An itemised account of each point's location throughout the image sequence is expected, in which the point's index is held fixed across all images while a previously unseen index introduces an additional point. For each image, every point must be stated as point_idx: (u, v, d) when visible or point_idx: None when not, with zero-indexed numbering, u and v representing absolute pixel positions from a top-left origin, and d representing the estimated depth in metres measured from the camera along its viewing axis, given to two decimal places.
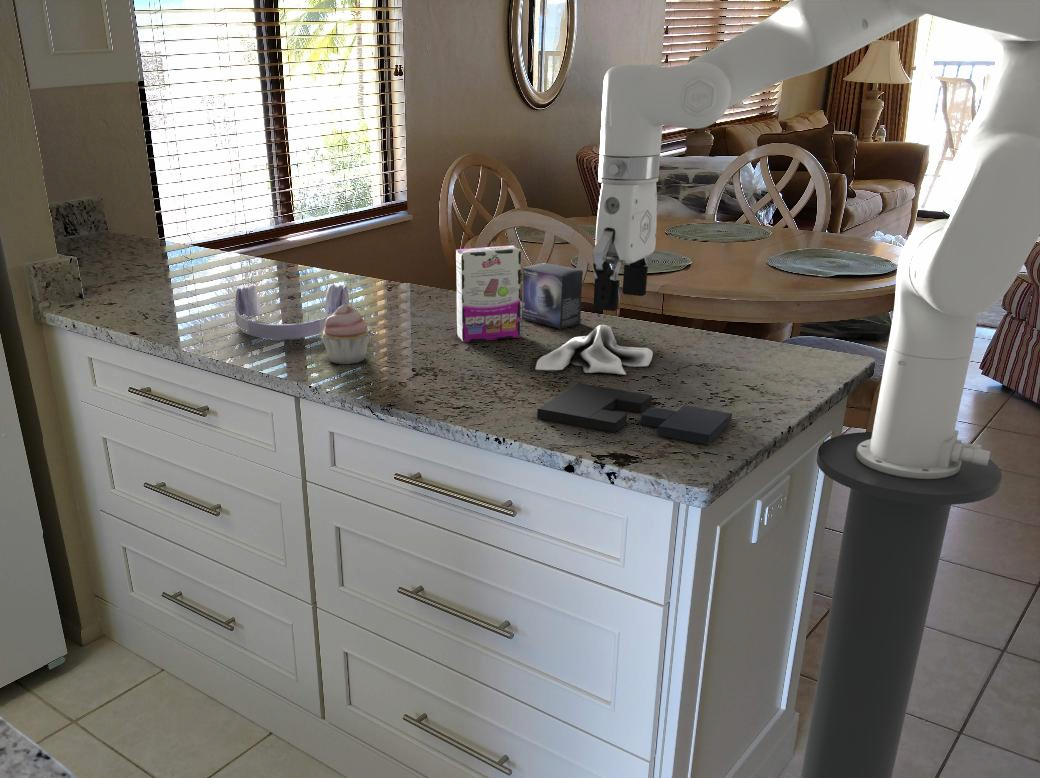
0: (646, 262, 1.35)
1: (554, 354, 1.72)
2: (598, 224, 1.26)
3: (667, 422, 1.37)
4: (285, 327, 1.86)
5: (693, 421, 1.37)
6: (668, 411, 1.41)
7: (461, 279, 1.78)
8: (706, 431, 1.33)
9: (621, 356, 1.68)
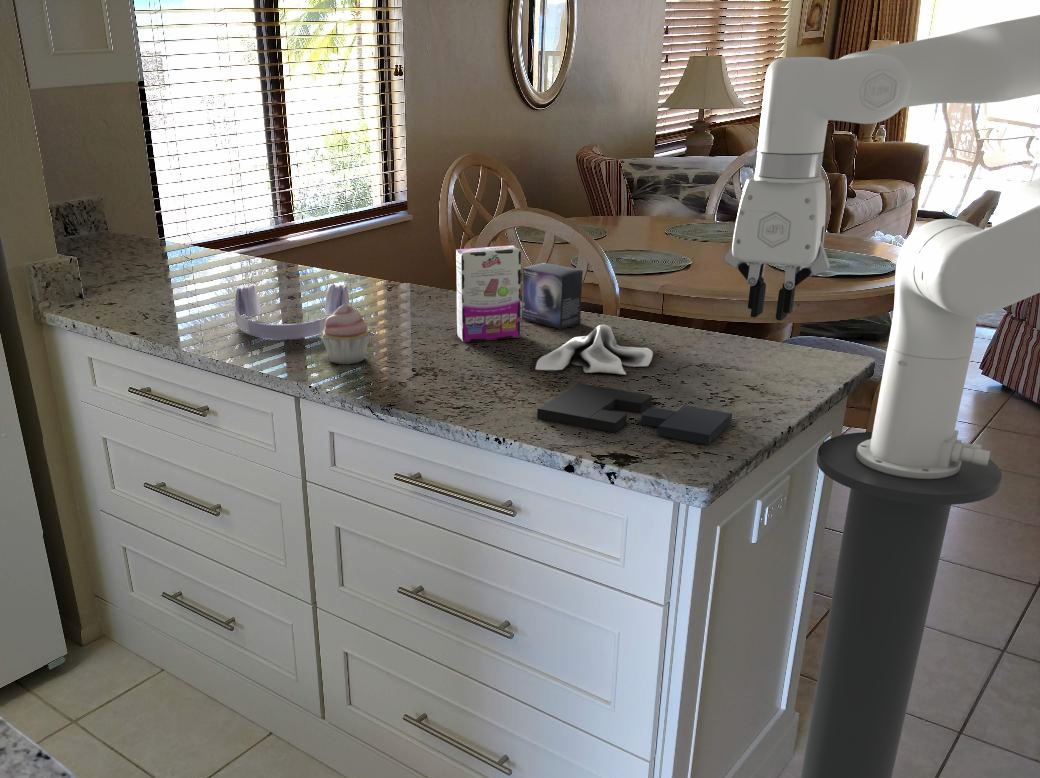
0: (787, 284, 1.24)
1: (554, 354, 1.72)
2: None
3: (667, 422, 1.37)
4: (285, 327, 1.86)
5: (693, 421, 1.37)
6: (668, 411, 1.41)
7: (461, 279, 1.78)
8: (706, 431, 1.33)
9: (621, 356, 1.68)
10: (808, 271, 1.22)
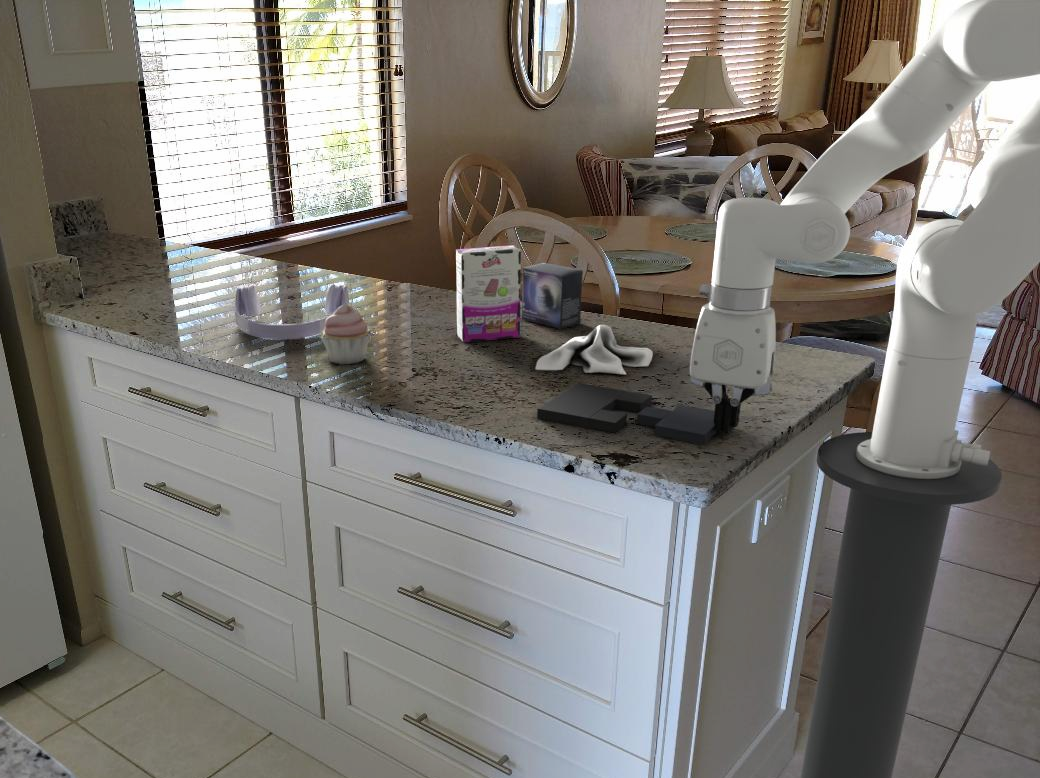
0: (732, 401, 1.32)
1: (554, 354, 1.72)
2: None
3: (663, 421, 1.37)
4: (285, 327, 1.86)
5: (689, 421, 1.37)
6: (664, 410, 1.41)
7: (461, 279, 1.78)
8: (702, 431, 1.34)
9: (621, 356, 1.68)
10: (752, 391, 1.31)
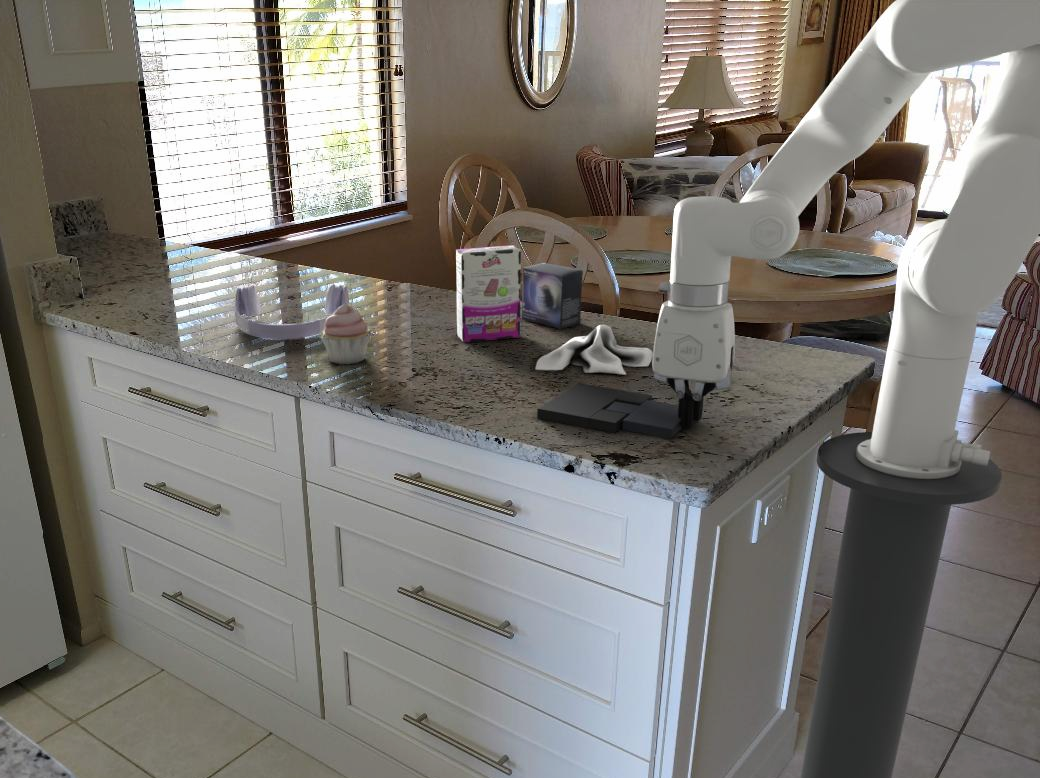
0: (695, 395, 1.35)
1: (554, 354, 1.72)
2: None
3: (631, 416, 1.39)
4: (285, 327, 1.86)
5: (656, 416, 1.40)
6: (631, 406, 1.43)
7: (461, 279, 1.78)
8: (669, 425, 1.36)
9: (621, 356, 1.68)
10: (713, 385, 1.34)
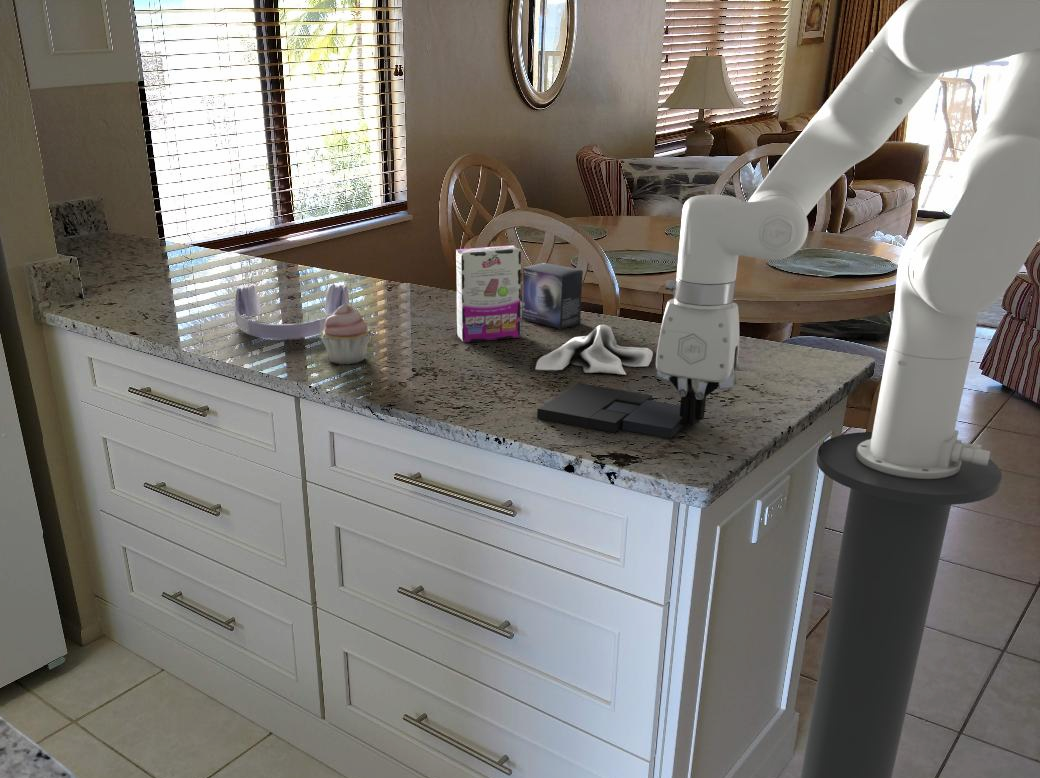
0: (697, 394, 1.35)
1: (554, 354, 1.72)
2: None
3: (630, 416, 1.39)
4: (285, 327, 1.86)
5: (656, 415, 1.40)
6: (631, 406, 1.43)
7: (461, 279, 1.78)
8: (668, 425, 1.36)
9: (621, 356, 1.68)
10: (716, 385, 1.34)
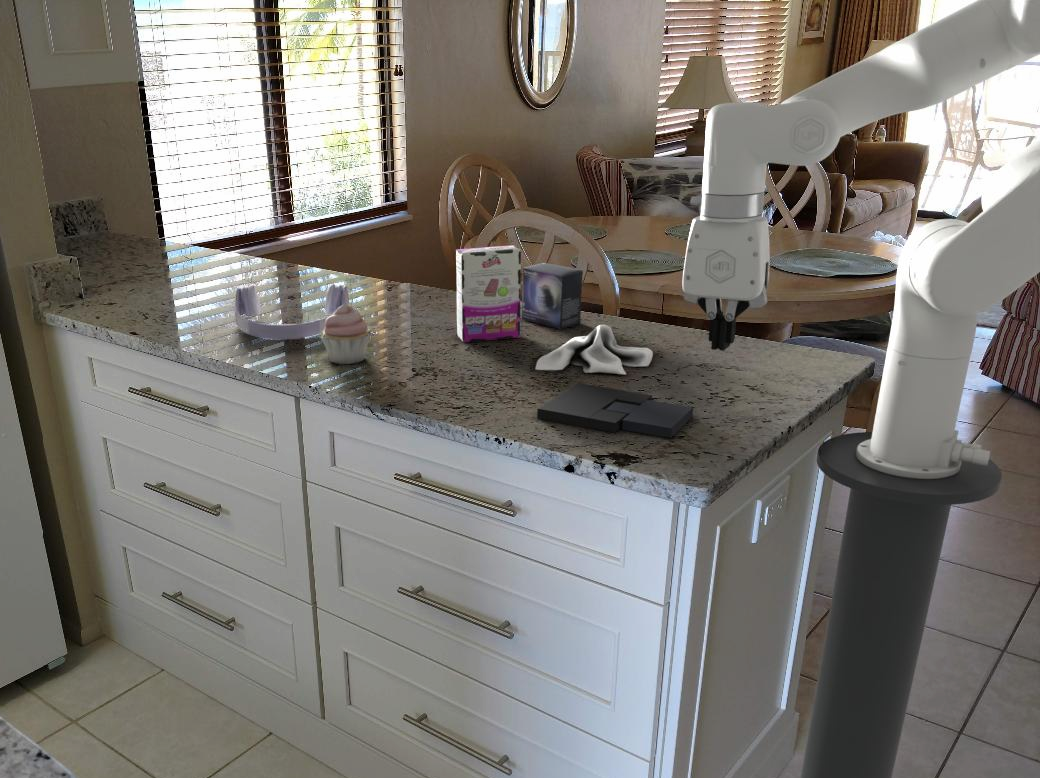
0: (727, 315, 1.29)
1: (554, 354, 1.72)
2: None
3: (630, 416, 1.39)
4: (285, 327, 1.86)
5: (656, 415, 1.39)
6: (631, 406, 1.43)
7: (461, 279, 1.78)
8: (668, 424, 1.36)
9: (621, 356, 1.68)
10: (746, 304, 1.28)
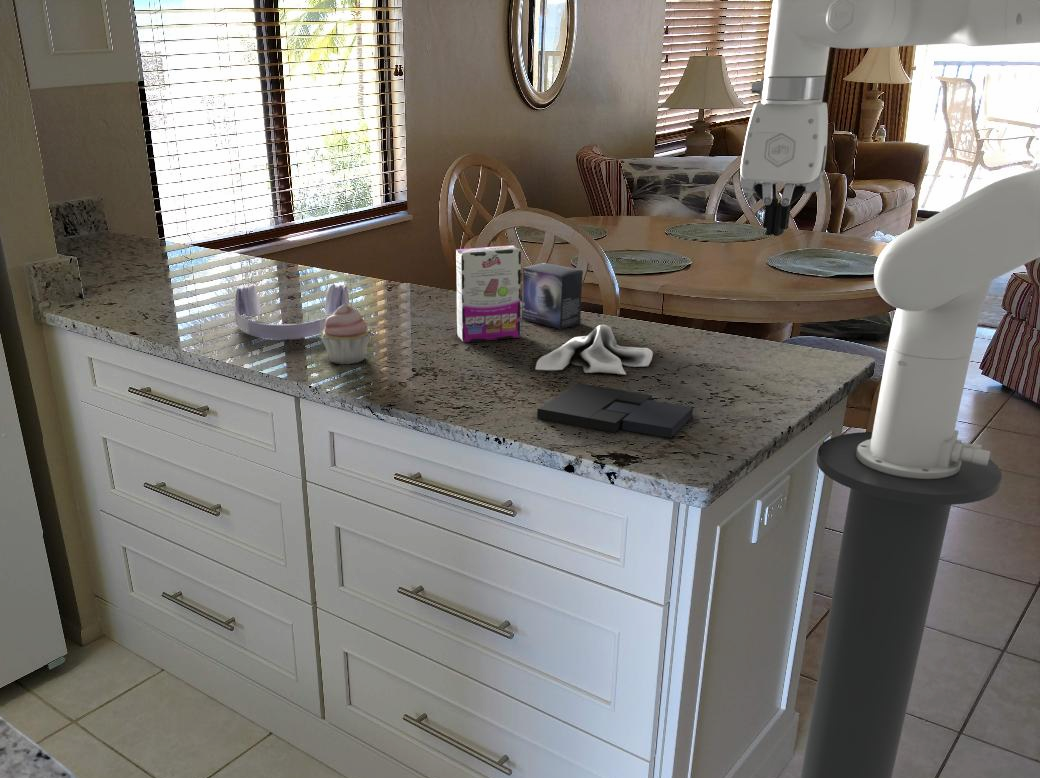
0: (783, 200, 1.33)
1: (554, 354, 1.72)
2: None
3: (630, 416, 1.39)
4: (285, 327, 1.86)
5: (656, 415, 1.39)
6: (631, 406, 1.43)
7: (461, 279, 1.78)
8: (668, 424, 1.36)
9: (621, 356, 1.68)
10: (803, 189, 1.32)
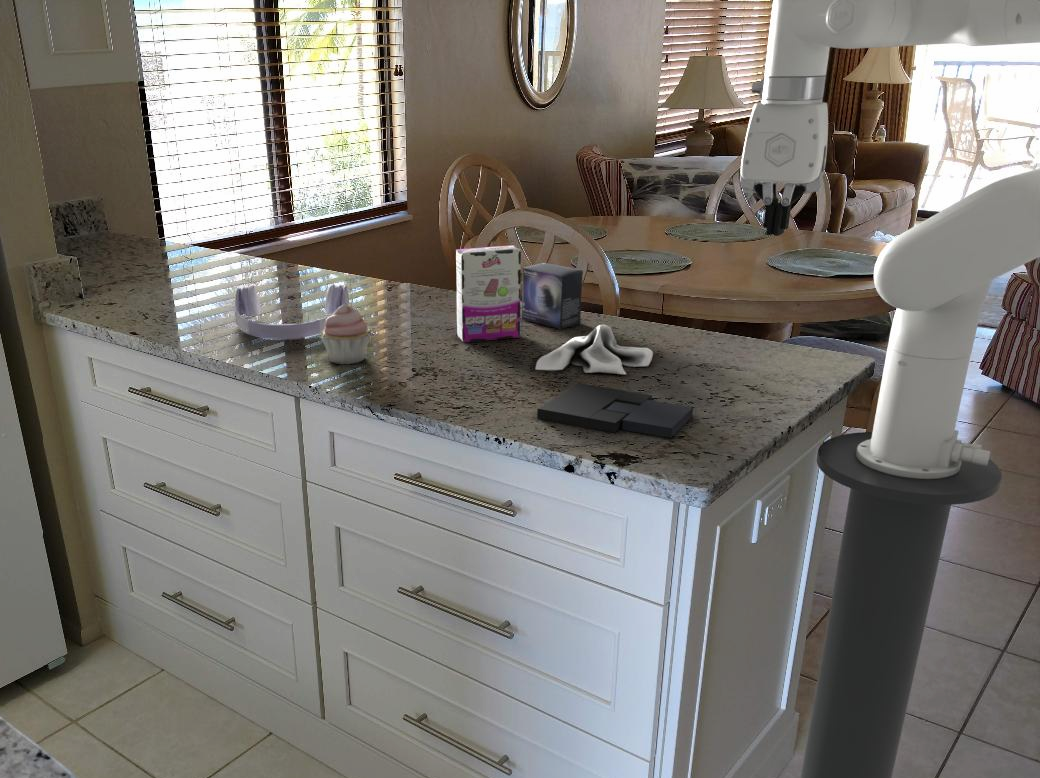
0: (783, 200, 1.33)
1: (554, 354, 1.72)
2: None
3: (630, 416, 1.39)
4: (285, 327, 1.86)
5: (656, 415, 1.39)
6: (631, 406, 1.43)
7: (461, 279, 1.78)
8: (668, 424, 1.36)
9: (621, 356, 1.68)
10: (803, 189, 1.32)
